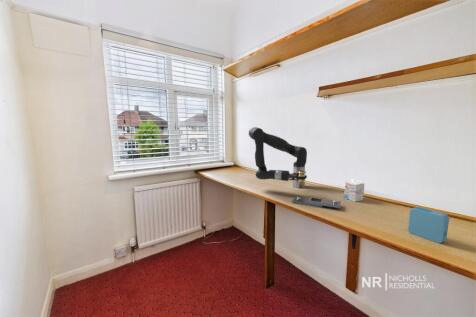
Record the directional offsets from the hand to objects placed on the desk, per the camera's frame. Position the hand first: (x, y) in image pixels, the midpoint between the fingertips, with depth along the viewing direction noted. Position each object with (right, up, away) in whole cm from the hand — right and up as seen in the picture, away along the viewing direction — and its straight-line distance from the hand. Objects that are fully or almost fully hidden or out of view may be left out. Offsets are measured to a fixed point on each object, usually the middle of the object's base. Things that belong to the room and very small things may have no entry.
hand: (305, 177), depth 144 cm
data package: (+36, -22, -53) cm, 67 cm away
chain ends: (+2, -16, -13) cm, 21 cm away
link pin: (-2, -8, +3) cm, 8 cm away
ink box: (+31, -15, -4) cm, 35 cm away
